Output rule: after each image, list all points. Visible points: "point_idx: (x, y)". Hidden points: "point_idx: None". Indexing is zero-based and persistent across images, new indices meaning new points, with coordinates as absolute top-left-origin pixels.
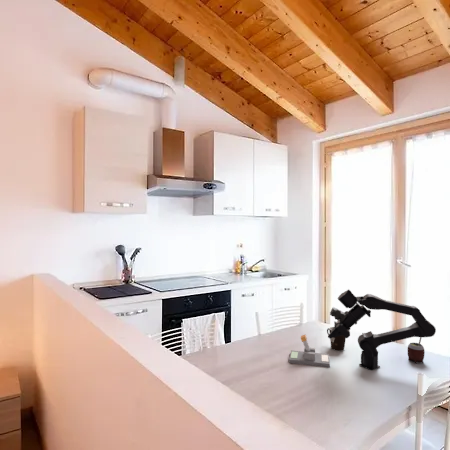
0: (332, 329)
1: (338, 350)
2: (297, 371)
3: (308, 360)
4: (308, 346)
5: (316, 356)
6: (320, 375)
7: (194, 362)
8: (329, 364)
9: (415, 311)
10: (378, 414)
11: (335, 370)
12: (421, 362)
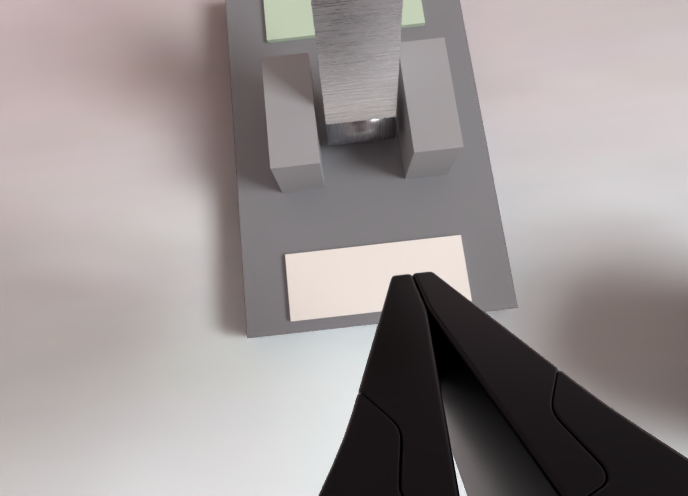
0: (564, 398)
1: None
2: (80, 96)
3: (262, 138)
4: (342, 60)
5: (395, 194)
6: (52, 275)
7: None
8: (247, 334)
9: None
10: None
11: (200, 394)
12: None
